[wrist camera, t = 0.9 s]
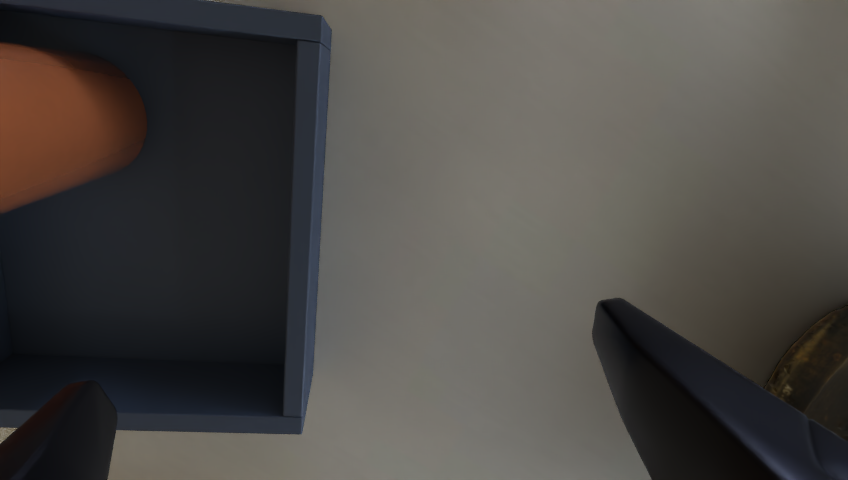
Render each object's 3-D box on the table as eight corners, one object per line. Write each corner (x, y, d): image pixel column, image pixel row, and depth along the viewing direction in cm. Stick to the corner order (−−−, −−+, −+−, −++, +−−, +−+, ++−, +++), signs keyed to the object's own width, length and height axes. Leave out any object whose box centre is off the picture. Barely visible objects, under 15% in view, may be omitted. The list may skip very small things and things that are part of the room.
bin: (312, 374, 25) (302, 435, 21) (3, 363, 23) (-79, 426, 19) (332, 29, 21) (323, 15, 16) (-47, -19, 19) (-167, -48, 15)
